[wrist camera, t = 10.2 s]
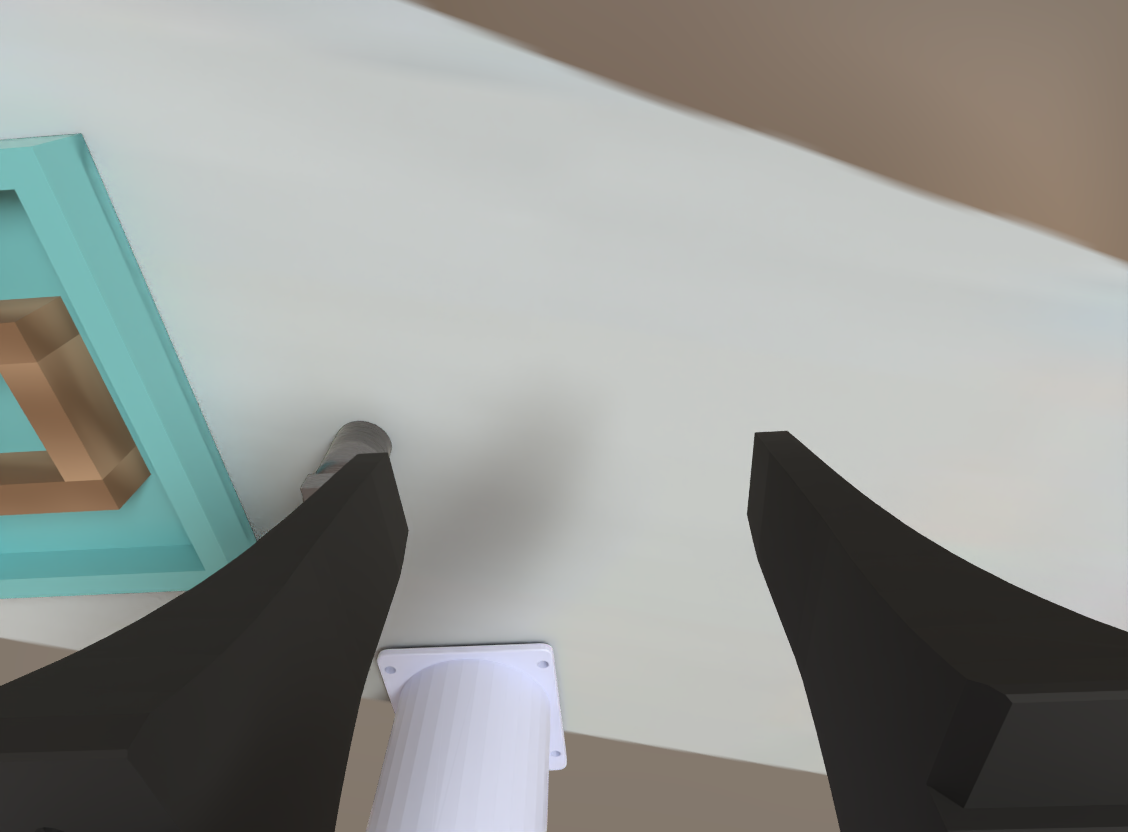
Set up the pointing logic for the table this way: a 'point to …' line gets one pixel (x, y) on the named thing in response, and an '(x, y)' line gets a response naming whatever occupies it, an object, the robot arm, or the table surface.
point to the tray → (134, 380)
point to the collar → (62, 418)
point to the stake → (347, 452)
